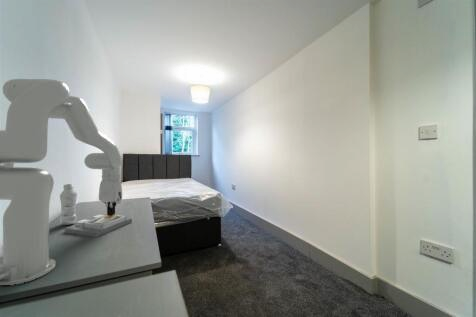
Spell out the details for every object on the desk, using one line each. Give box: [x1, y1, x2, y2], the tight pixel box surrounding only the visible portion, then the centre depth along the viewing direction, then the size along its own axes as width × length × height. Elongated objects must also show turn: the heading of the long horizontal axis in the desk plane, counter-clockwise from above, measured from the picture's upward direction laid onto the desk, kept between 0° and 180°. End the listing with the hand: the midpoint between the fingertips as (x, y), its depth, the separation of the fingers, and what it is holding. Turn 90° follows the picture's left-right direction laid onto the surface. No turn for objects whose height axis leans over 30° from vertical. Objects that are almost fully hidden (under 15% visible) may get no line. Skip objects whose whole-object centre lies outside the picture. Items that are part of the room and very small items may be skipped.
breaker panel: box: [64, 214, 133, 238], centre depth 99 cm, size 20×18×4 cm
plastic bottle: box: [59, 183, 78, 226], centre depth 101 cm, size 6×7×20 cm
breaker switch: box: [94, 214, 118, 224], centre depth 98 cm, size 8×5×1 cm, turn 166°
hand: (111, 214), depth 101 cm, fingers closed
